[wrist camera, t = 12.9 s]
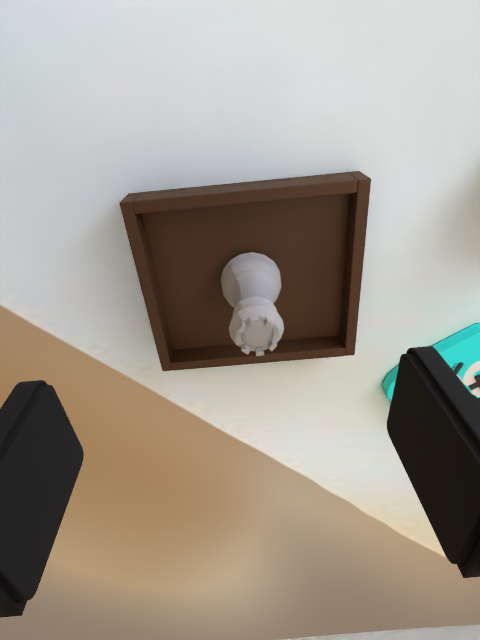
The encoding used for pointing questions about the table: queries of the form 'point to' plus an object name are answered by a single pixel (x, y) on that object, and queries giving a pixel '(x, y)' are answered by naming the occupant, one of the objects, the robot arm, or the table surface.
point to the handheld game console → (454, 359)
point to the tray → (245, 237)
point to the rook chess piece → (253, 302)
